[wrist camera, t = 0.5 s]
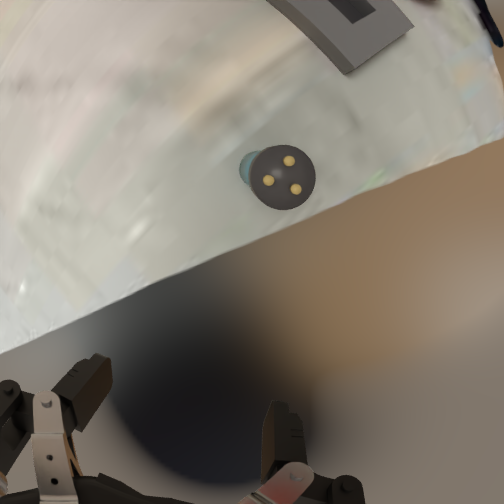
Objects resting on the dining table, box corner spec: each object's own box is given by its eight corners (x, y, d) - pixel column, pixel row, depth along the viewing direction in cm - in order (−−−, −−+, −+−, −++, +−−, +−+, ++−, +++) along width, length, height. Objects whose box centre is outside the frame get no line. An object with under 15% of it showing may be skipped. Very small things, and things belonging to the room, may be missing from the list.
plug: (228, 169, 33) (238, 177, 20) (258, 140, 32) (288, 131, 20) (257, 198, 35) (284, 224, 22) (287, 170, 34) (330, 180, 21)
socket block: (261, -4, 25) (266, -16, 22) (333, -37, 23) (341, -46, 19) (343, 74, 30) (355, 68, 27) (402, 32, 28) (414, 26, 25)
